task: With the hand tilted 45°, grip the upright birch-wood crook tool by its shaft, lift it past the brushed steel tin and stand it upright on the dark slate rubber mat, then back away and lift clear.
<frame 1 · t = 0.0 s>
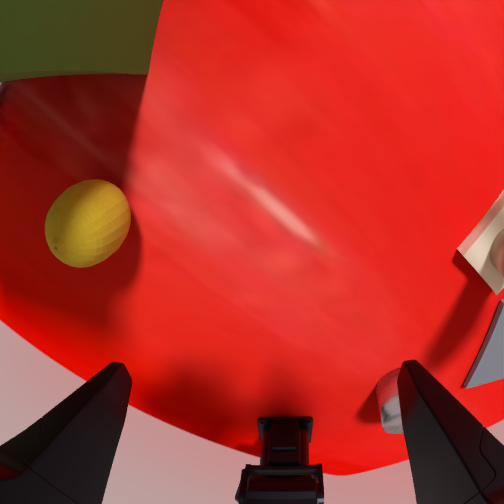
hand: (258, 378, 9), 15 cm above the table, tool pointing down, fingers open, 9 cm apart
lemon: (116, 200, 23), on the table
hardback book: (60, 33, 16), on the table
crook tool: (499, 241, 21), on the table
steel tin: (400, 383, 30), on the table
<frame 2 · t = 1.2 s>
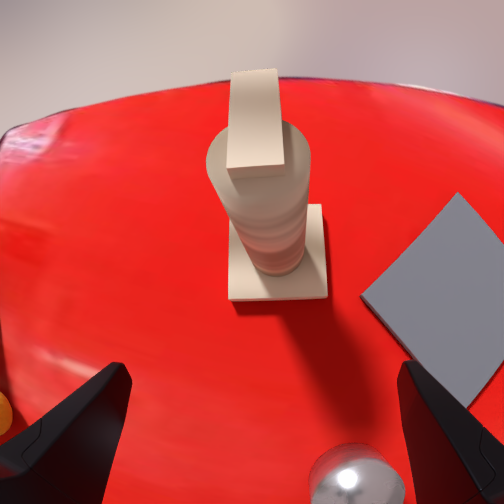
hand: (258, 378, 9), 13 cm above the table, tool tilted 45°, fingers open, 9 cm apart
lemon: (12, 409, 23), on the table
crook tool: (277, 254, 24), on the table
steel tin: (347, 476, 18), on the table
mat: (463, 299, 21), on the table
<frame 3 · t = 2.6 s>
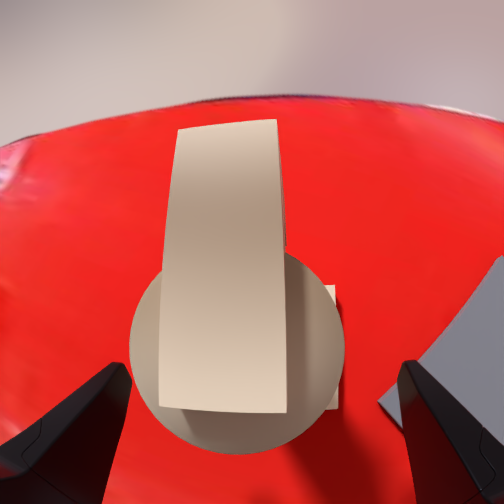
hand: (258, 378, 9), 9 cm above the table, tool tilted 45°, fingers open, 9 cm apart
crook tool: (274, 350, 18), on the table
mat: (497, 389, 15), on the table
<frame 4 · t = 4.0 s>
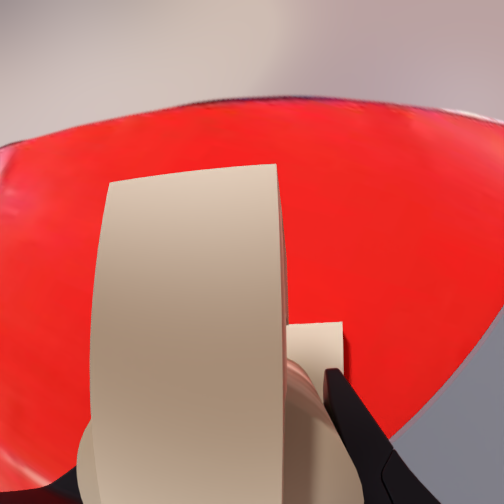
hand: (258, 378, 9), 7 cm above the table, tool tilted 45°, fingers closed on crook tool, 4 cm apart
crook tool: (273, 391, 15), on the table, touching gripper
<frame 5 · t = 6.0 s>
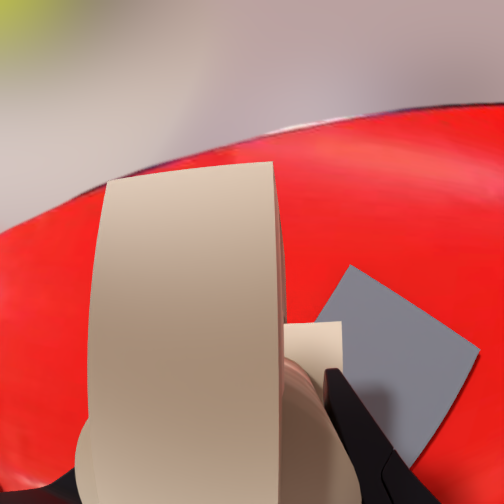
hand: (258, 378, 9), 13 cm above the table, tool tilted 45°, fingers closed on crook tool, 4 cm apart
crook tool: (272, 391, 15), point 6 cm above the table, touching gripper
mat: (374, 386, 20), on the table
when the fingers open (9 cm above the table, at t = 8.0 s): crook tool stays where it is, resting on mat.
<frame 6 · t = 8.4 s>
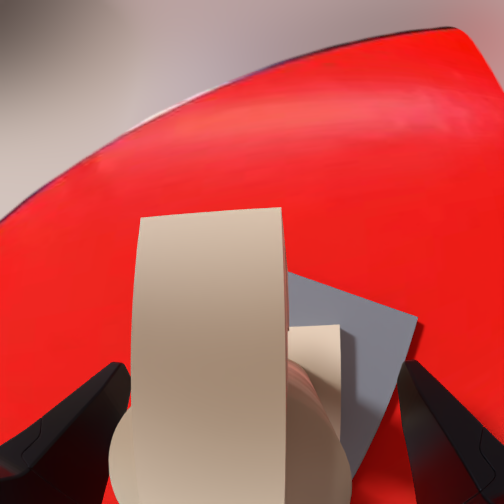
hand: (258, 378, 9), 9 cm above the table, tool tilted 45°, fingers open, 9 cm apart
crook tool: (274, 390, 16), point 1 cm above the table, touching mat
mat: (275, 387, 17), on the table
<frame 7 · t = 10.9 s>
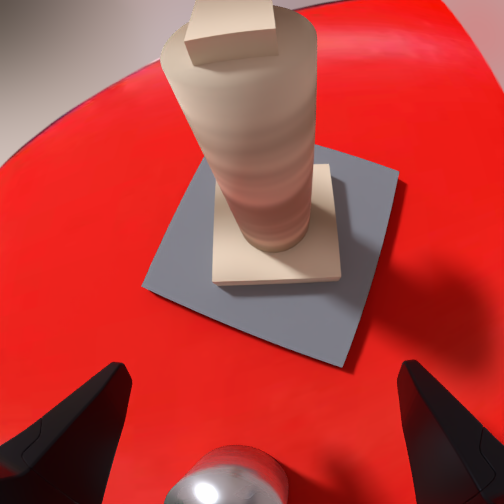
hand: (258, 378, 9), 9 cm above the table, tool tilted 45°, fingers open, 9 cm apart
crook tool: (275, 226, 19), point 1 cm above the table, touching mat
steel tin: (239, 485, 15), on the table
mat: (276, 230, 20), on the table
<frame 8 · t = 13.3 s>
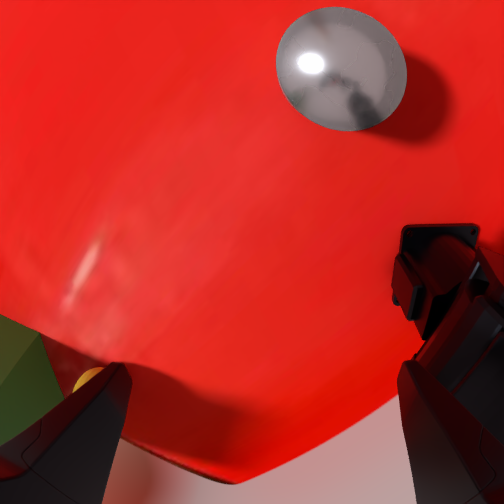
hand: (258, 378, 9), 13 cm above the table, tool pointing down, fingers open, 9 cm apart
lemon: (113, 368, 30), on the table
hardback book: (36, 368, 33), on the table
steel tin: (328, 74, 16), on the table
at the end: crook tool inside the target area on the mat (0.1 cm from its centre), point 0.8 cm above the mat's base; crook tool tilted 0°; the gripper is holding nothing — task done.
